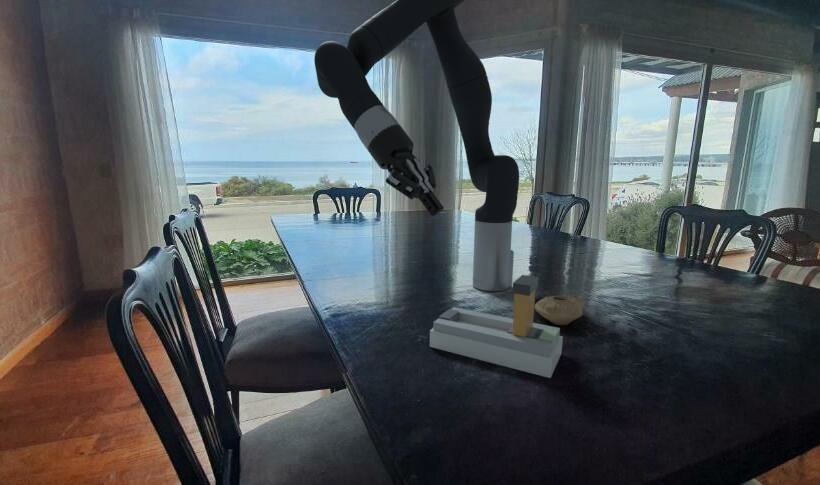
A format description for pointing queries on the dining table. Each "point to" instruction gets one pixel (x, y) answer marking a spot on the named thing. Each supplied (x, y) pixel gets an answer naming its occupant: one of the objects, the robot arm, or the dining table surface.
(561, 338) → the base
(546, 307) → the pottery oil lamp
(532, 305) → the breaker lever
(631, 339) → the dining table surface
